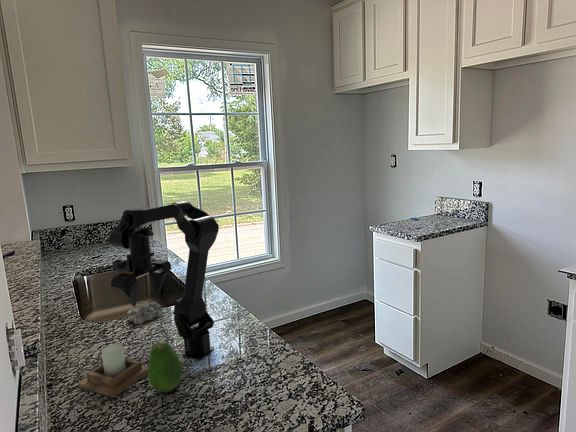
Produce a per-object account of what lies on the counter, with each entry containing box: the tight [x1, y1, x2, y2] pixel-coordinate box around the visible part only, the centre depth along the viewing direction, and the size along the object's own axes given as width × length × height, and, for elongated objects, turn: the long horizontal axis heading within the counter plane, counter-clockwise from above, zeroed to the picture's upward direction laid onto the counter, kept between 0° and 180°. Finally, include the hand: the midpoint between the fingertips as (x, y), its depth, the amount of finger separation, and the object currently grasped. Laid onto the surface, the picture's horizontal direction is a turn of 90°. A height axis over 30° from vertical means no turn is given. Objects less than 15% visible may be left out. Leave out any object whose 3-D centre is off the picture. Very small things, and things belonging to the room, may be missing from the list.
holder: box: [77, 357, 149, 398], centre depth 99 cm, size 12×12×3 cm
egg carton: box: [127, 301, 165, 325], centre depth 135 cm, size 11×8×4 cm
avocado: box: [147, 342, 184, 394], centre depth 93 cm, size 8×8×12 cm
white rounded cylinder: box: [101, 343, 126, 378], centre depth 99 cm, size 5×5×7 cm
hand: (145, 300), depth 119 cm, fingers open, 9 cm apart
